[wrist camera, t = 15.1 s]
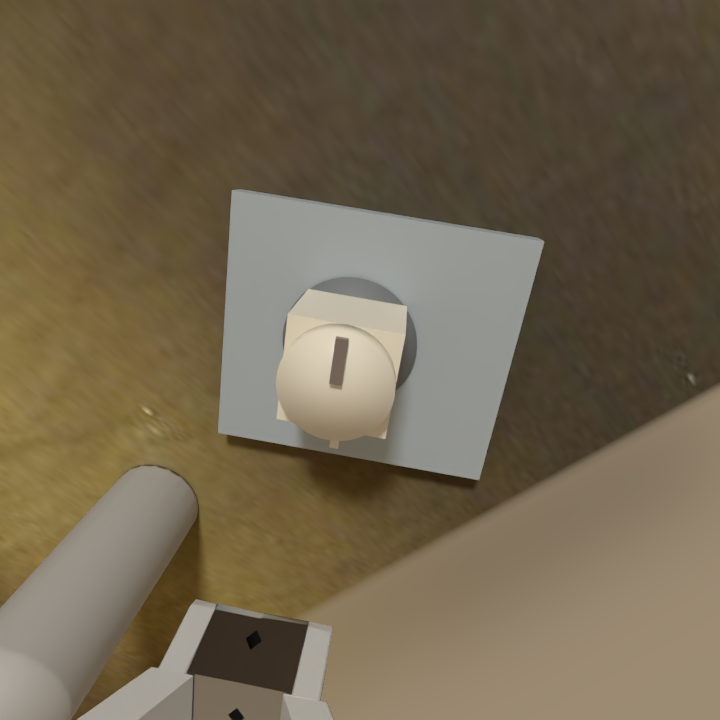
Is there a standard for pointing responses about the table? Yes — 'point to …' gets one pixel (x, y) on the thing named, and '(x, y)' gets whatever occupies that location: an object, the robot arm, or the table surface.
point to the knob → (340, 365)
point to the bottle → (89, 593)
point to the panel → (386, 284)
